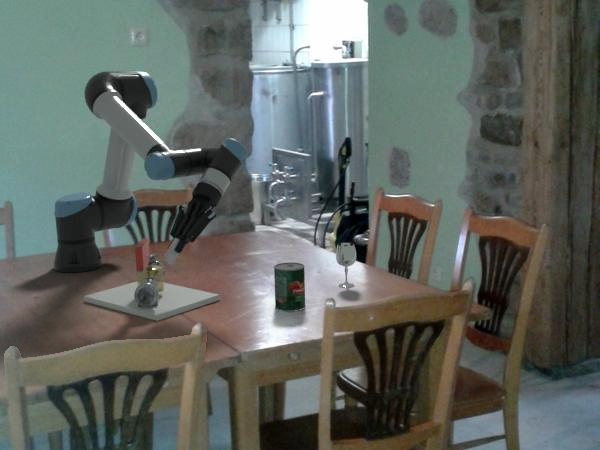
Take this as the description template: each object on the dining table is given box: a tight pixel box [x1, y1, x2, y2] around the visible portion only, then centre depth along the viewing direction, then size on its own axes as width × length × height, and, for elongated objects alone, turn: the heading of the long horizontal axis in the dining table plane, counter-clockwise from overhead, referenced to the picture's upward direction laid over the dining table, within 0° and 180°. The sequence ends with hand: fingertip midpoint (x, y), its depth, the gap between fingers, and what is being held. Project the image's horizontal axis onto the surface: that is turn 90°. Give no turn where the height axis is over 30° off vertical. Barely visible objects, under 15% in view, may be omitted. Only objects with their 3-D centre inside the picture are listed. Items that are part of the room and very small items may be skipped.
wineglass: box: [335, 242, 357, 289], centre depth 222 cm, size 6×6×12 cm
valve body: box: [134, 260, 166, 307], centre depth 212 cm, size 26×7×9 cm, turn 6°
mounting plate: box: [83, 281, 220, 322], centre depth 213 cm, size 30×22×2 cm
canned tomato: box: [273, 261, 306, 312], centre depth 204 cm, size 8×8×11 cm
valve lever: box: [134, 238, 157, 273], centre depth 205 cm, size 16×4×7 cm, turn 2°
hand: (167, 261), depth 203 cm, fingers closed
